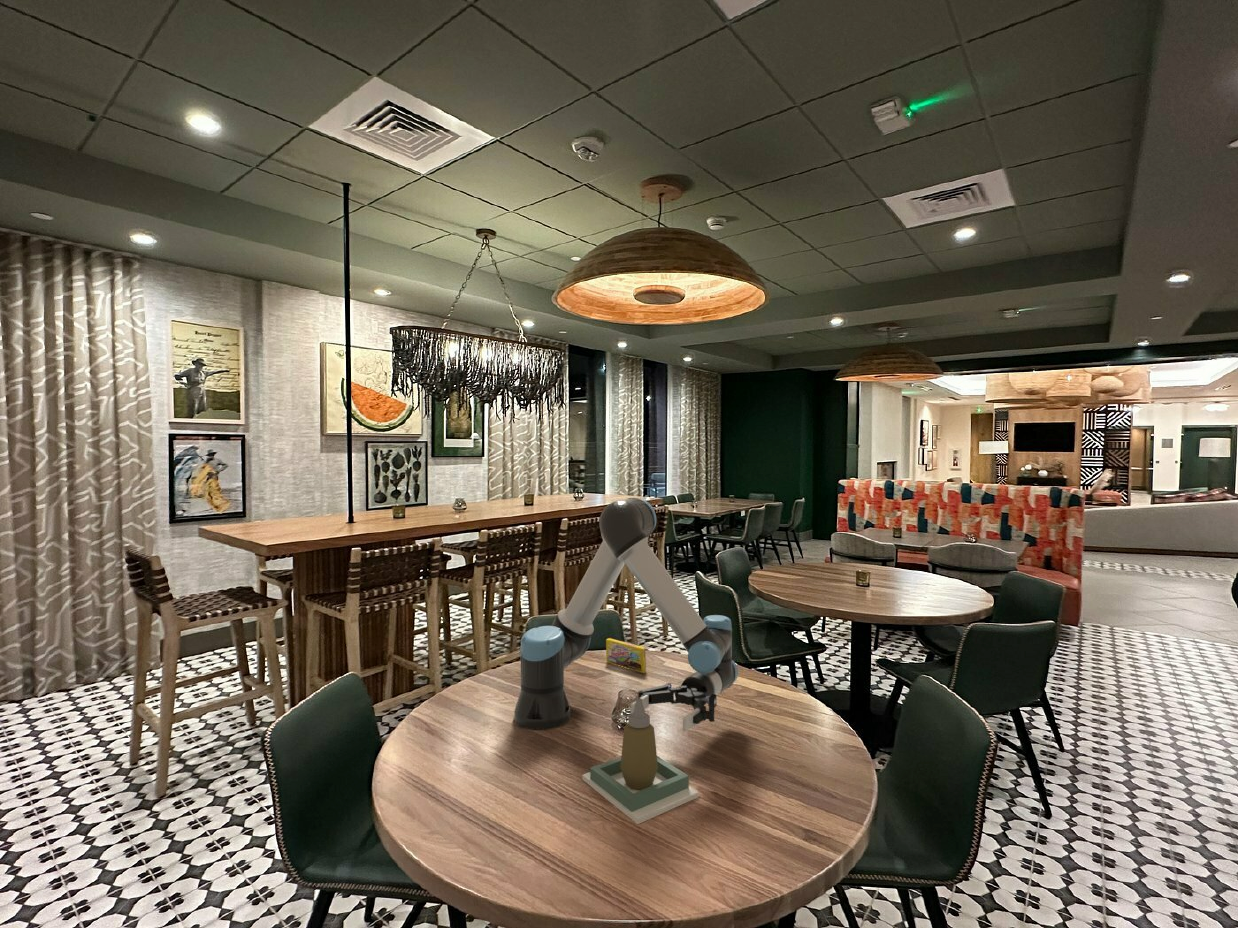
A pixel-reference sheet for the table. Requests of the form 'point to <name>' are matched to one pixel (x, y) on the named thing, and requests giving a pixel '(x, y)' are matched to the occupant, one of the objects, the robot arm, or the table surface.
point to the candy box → (626, 655)
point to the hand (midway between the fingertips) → (657, 717)
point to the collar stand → (643, 803)
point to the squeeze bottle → (639, 750)
